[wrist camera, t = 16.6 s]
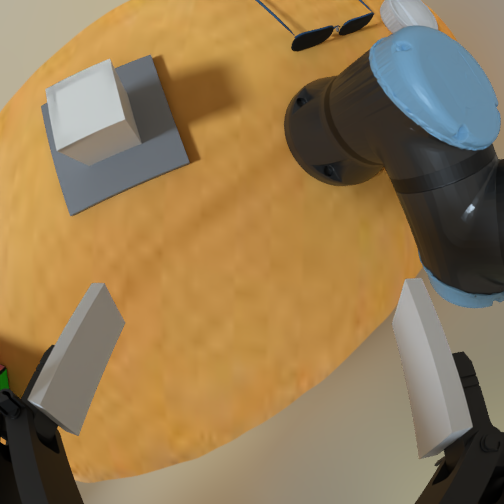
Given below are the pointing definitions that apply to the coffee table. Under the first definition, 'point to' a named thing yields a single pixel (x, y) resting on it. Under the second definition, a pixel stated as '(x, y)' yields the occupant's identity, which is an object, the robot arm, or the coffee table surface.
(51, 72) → the coffee table surface
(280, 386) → the coffee table surface
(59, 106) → the white rectangular box
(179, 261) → the coffee table surface
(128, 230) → the coffee table surface
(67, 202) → the post dock
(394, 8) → the ramekin
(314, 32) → the sunglasses
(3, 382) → the puzzle cube
